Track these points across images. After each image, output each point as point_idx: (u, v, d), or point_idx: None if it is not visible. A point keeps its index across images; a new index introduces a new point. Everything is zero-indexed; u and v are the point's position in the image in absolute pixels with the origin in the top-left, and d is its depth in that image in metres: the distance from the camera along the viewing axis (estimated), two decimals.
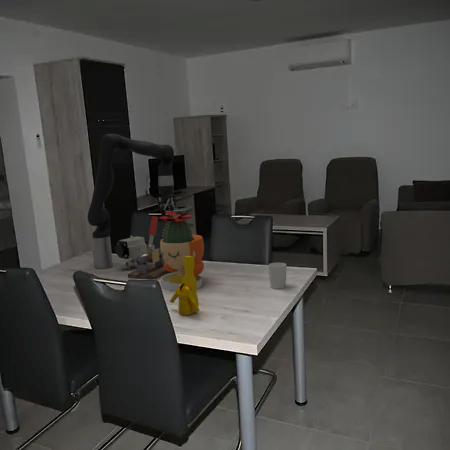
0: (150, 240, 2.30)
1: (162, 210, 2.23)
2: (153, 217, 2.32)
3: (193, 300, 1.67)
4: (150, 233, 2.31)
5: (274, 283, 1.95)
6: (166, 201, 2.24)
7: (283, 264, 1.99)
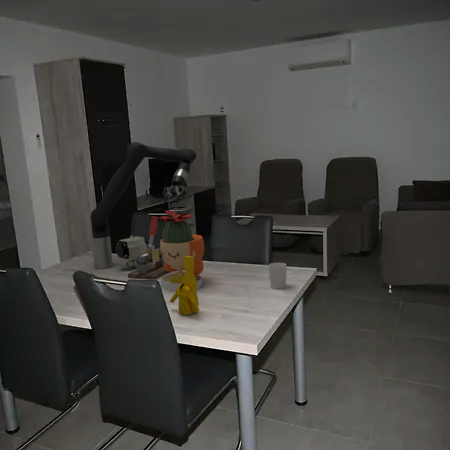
0: (150, 240, 2.30)
1: (179, 197, 2.46)
2: (153, 217, 2.32)
3: (193, 300, 1.67)
4: (150, 233, 2.31)
5: (274, 283, 1.95)
6: None
7: (283, 264, 1.99)
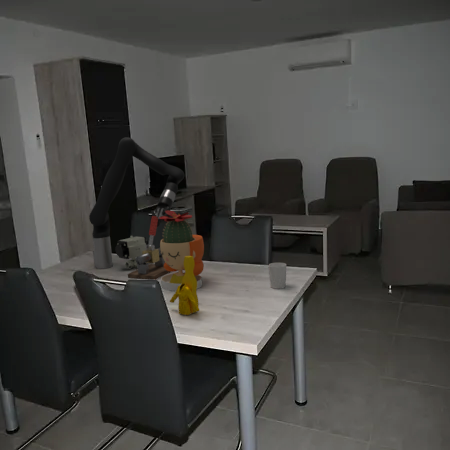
0: (150, 240, 2.30)
1: (160, 220, 2.36)
2: (153, 217, 2.32)
3: (193, 300, 1.67)
4: (150, 233, 2.31)
5: (274, 283, 1.95)
6: None
7: (283, 264, 1.99)
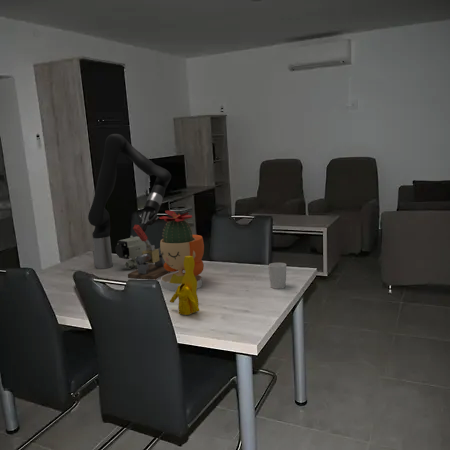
0: (147, 243, 2.27)
1: (147, 225, 2.25)
2: (135, 229, 2.19)
3: (193, 300, 1.67)
4: (142, 240, 2.25)
5: (274, 283, 1.95)
6: None
7: (283, 264, 1.99)
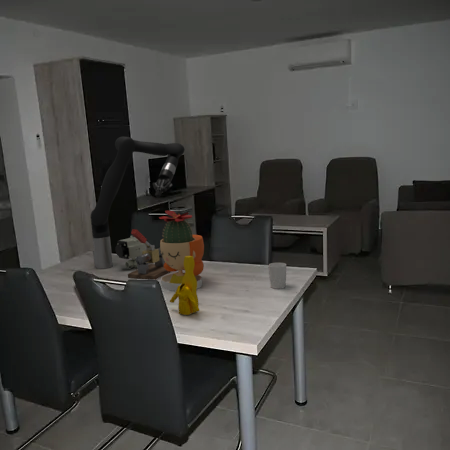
0: (146, 245, 2.27)
1: (161, 191, 2.47)
2: (133, 234, 2.18)
3: (193, 300, 1.67)
4: (142, 242, 2.24)
5: (274, 283, 1.95)
6: (165, 186, 2.50)
7: (283, 264, 1.99)
